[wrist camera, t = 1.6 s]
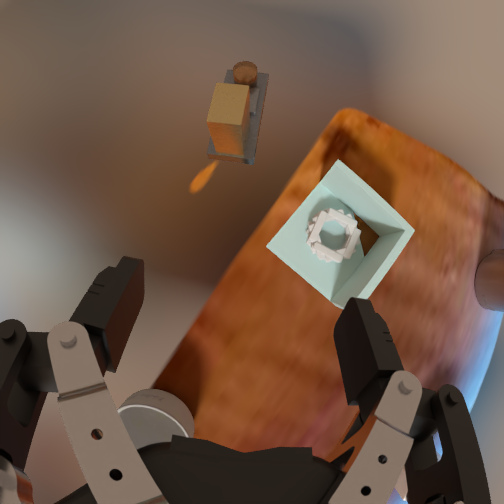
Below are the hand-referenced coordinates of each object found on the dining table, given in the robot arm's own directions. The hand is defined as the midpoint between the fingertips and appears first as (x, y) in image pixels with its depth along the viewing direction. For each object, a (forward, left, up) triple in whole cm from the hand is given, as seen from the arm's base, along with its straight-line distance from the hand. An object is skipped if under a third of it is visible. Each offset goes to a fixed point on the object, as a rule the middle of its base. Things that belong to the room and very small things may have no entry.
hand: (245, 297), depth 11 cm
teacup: (+25, +3, -27) cm, 37 cm away
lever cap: (-12, -13, -24) cm, 30 cm away
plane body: (-16, -15, -26) cm, 34 cm away
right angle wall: (-10, +5, -27) cm, 29 cm away
